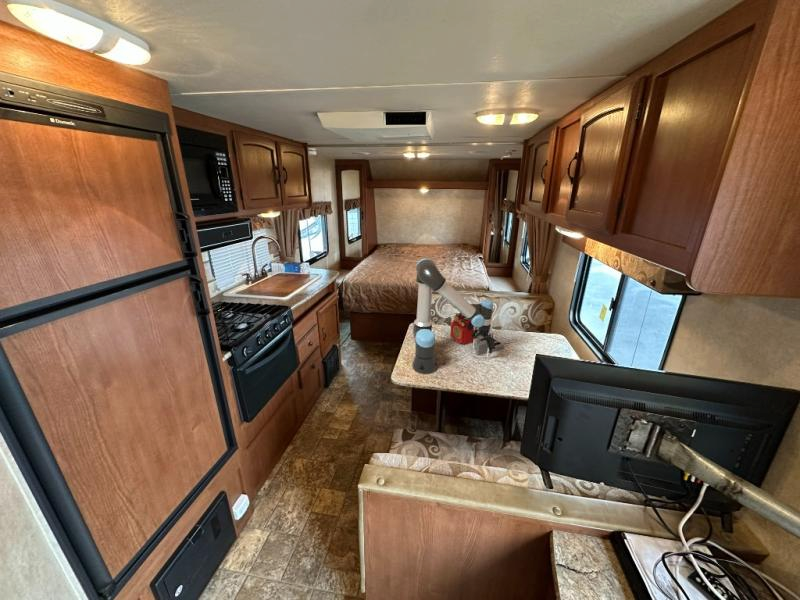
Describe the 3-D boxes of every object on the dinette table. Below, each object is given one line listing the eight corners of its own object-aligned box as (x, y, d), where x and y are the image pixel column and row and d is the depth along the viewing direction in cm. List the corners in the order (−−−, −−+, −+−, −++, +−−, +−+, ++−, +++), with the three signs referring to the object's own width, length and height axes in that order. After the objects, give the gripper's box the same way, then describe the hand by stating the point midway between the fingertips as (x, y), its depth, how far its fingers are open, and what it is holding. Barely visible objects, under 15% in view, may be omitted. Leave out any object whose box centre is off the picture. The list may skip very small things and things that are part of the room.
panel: (478, 355, 202) (479, 345, 199) (475, 354, 204) (476, 343, 201) (487, 352, 206) (488, 342, 203) (484, 351, 208) (485, 340, 205)
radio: (449, 336, 226) (450, 312, 219) (460, 333, 231) (462, 309, 223) (462, 346, 213) (465, 320, 206) (474, 343, 218) (476, 317, 210)
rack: (490, 352, 206) (491, 347, 204) (475, 343, 218) (476, 338, 216) (503, 348, 211) (504, 343, 209) (488, 339, 223) (489, 334, 222)
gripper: (503, 329, 188) (499, 359, 196) (476, 315, 208) (473, 342, 216) (494, 332, 185) (490, 362, 193) (467, 317, 205) (465, 344, 213)
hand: (481, 351), depth 204 cm, fingers open, 13 cm apart
